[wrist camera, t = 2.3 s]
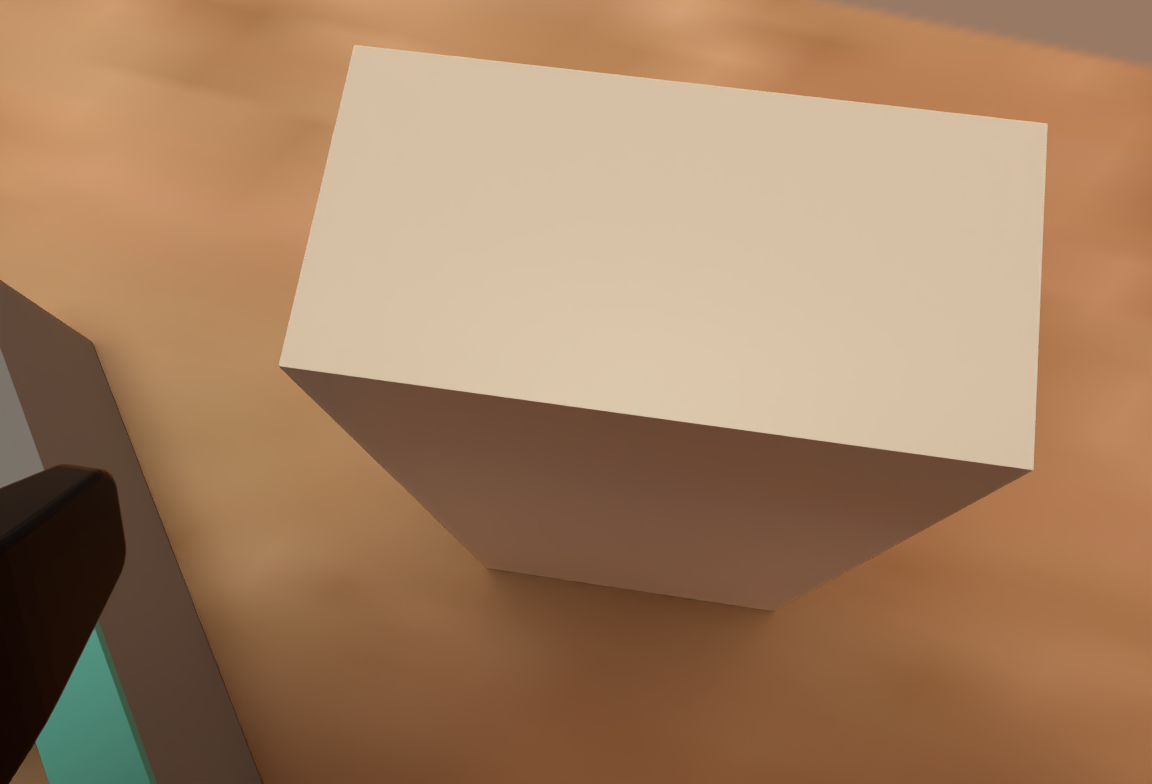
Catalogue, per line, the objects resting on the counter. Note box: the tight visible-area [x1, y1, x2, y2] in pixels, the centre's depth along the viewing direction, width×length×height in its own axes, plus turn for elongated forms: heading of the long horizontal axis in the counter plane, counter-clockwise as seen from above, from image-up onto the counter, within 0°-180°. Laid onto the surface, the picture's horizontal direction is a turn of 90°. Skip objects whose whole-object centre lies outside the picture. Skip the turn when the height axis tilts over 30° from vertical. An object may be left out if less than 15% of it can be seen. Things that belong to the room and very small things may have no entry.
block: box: [279, 45, 1047, 611], centre depth 13 cm, size 2×5×12 cm, turn 81°
